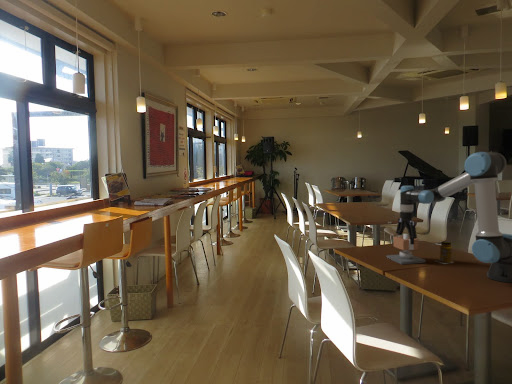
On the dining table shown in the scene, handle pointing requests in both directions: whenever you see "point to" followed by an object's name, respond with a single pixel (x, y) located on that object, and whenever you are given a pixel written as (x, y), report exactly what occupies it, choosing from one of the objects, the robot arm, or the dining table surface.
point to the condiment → (445, 253)
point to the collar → (404, 243)
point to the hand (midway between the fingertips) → (405, 247)
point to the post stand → (406, 256)
